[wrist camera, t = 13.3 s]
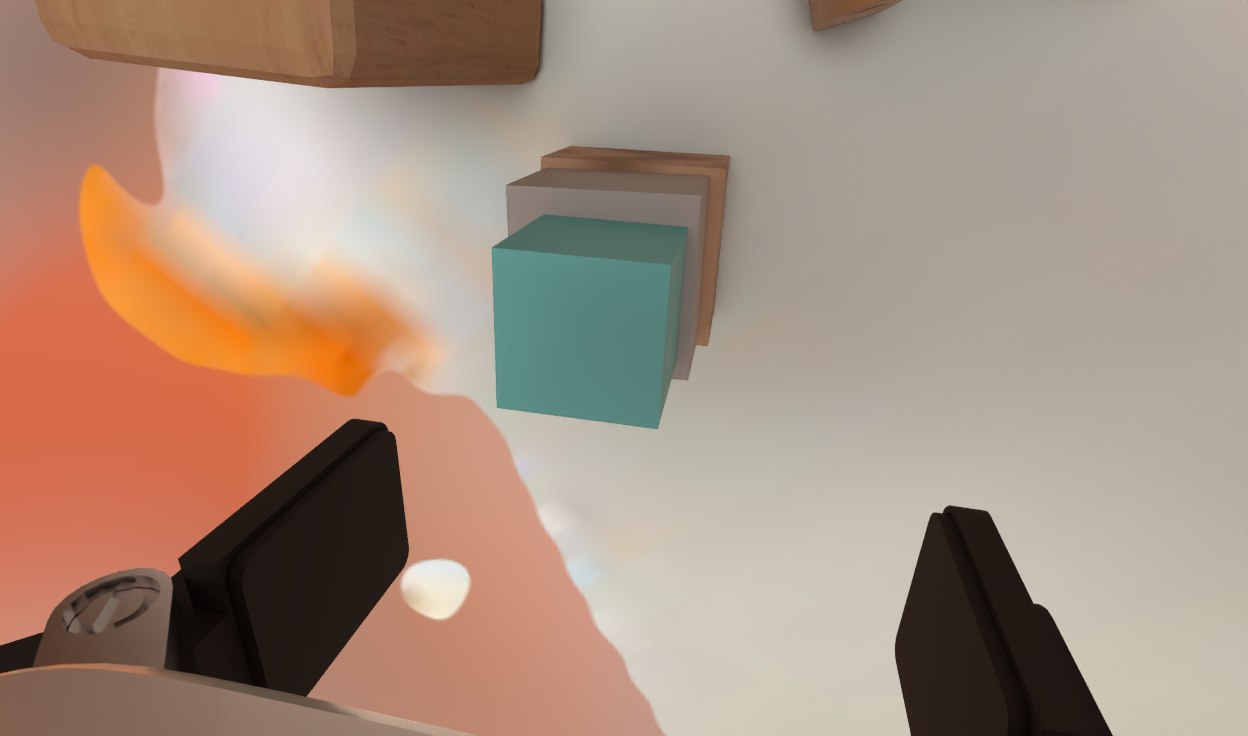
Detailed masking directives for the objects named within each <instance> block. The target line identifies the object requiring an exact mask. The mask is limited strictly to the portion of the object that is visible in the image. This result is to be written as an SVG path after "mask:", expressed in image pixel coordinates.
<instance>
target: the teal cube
mask: <svg viewBox="0 0 1248 736" xmlns="http://www.w3.org/2000/svg"><path fill="white" fill-rule="evenodd" d="M687 232H688V227H681V226H670V225H659V224H648V223H636V222H625V221H614V220H603V219H591V218H580V217H569V216H557V215H546V214H543V215H542V216H540V217H539V218H537V219H535V220H534V221H532V222H531V223H529V224H528V225H526V226H525V227H523V228H522V229H520V230H518V231H517V232H515V233H514V234H512V235H511V236H509V237H508V238H506V239H505V240H503V241H501V242H500V243H498V244H497V245H495V246H494V247H492V266H493V299H494V331H495V363H496V395H497V408H503V409H510V410H518V411H525V412H533V413H540V414H548V415H555V416H563V417H570V418H578V419H586V420H593V421H601V422H608V423H616V424H623V425H631V426H638V427H646V428H653V429H658V426H659V422H660V419H661V415H662V411H663V408H664V404H665V400H666V397H667V393H668V389H669V386H670V382H671V378H672V375H673V371H674V367H675V364H676V353H677V342H678V331H679V320H680V309H681V298H682V287H683V276H684V265H685V254H686V243H687Z"/></svg>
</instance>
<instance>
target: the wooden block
mask: <svg viewBox="0 0 1248 736" xmlns="http://www.w3.org/2000/svg"><path fill="white" fill-rule="evenodd" d="M36 4H37V8H38V12H39V17H40V19H41V21H42V23H43V25H44V26H45V28H46V30H47V31H48V33H49V35H50V36H51V38H52V40H53V41H55V42H57V43H59V44H61V45H63V46H65V47H68V48H70V49H72V50H74V51H76V52H78V53H80V54H82V55H84V56H86V57H88V58H91V59H100V60H108V61H115V62H123V63H132V64H139V65H148V66H155V67H163V68H171V69H179V70H187V71H195V72H203V73H211V74H219V75H227V76H235V77H243V78H251V79H259V80H267V81H275V82H283V83H291V84H299V85H307V86H315V87H323V88H356V87H405V86H453V85H502V84H522V83H525V82H528V81H531V80H533V78H534V76H535V74H536V71H537V69H538V67H539V49H540V27H541V5H542V0H36Z"/></svg>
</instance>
